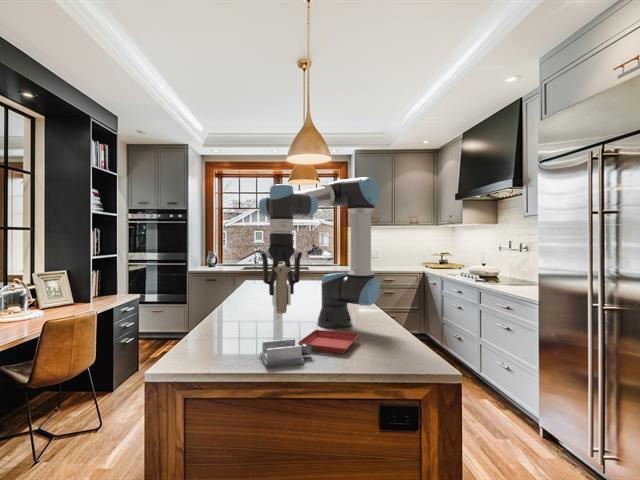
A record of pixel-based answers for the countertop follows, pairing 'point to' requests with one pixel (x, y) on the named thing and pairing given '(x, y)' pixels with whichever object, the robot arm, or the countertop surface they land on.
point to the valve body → (283, 353)
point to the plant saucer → (329, 341)
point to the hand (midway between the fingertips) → (281, 304)
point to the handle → (281, 288)
